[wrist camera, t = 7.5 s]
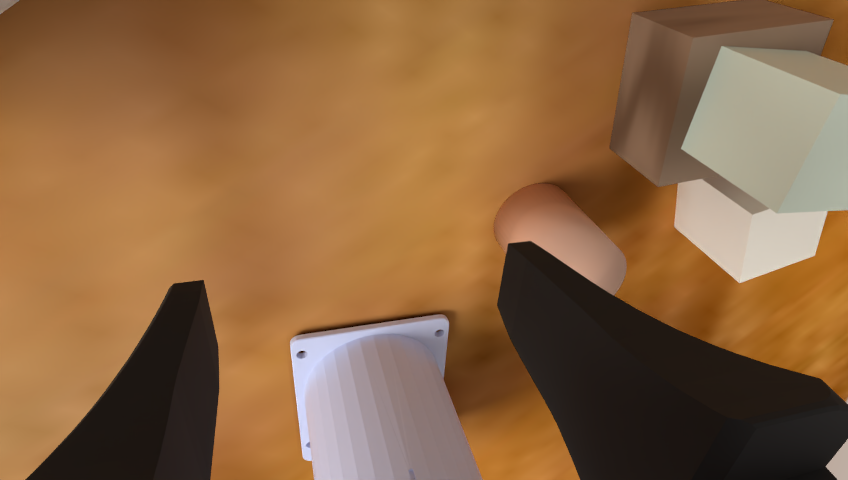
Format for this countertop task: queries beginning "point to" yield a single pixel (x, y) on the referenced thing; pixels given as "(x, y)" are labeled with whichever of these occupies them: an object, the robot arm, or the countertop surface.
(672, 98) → the walnut block
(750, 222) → the cream block
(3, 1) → the skincare box
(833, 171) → the sage block
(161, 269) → the countertop surface
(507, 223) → the terracotta cylinder
